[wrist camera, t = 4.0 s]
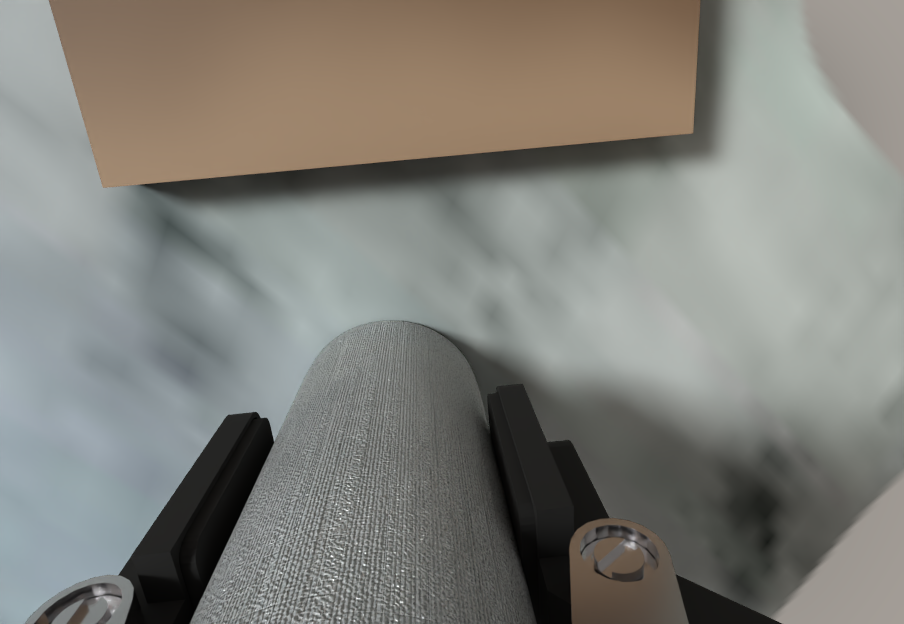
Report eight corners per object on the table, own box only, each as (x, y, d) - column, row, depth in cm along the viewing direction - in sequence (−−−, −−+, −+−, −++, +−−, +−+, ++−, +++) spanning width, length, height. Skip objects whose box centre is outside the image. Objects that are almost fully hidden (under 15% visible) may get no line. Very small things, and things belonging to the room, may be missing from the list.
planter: (514, 385, 14) (742, 972, 4) (408, 502, 15) (390, 1207, 5) (373, 282, 13) (231, 750, 3) (268, 415, 14) (-97, 1103, 4)
